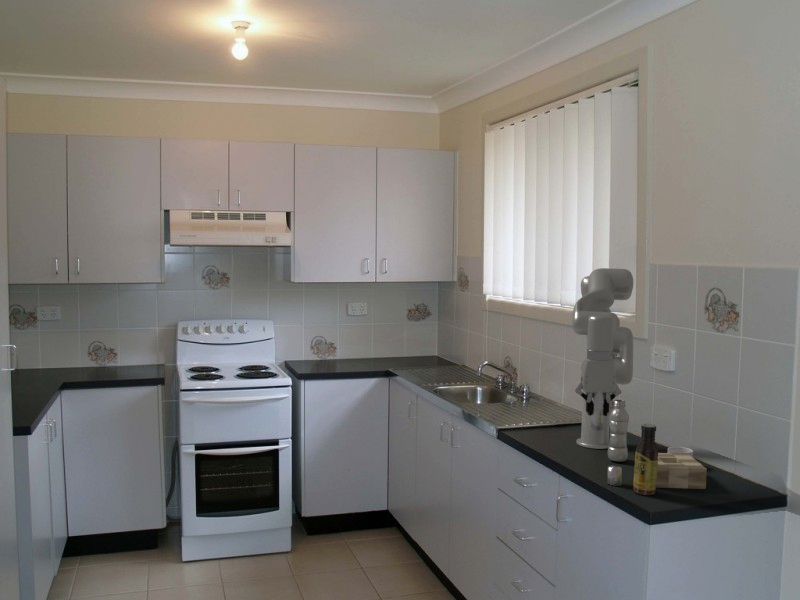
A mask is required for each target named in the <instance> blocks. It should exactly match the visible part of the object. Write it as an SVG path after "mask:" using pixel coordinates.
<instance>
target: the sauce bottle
mask: <svg viewBox="0 0 800 600" xmlns="http://www.w3.org/2000/svg"><path fill="white" fill-rule="evenodd" d="M640 428H641V436H640V440H639V442H638V445H637V447H636V450H635V454H634V469H633V482H632V483H633V484H632V485H633V491H634V493H636V494H639V495H641V496H652V495H653V496H654V495H655V493H656V489H657V488H656V481H657V467H658V453H659V447H658V446H657V444H656V431H657V425H655V424H652V423H642V424H641V426H640Z"/></svg>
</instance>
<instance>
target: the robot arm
mask: <svg viewBox="0 0 800 600" xmlns="http://www.w3.org/2000/svg"><path fill="white" fill-rule="evenodd" d="M633 290H634V277H633V274H632V272H631V271H630V270H628V269H627V268H605V267H604V268H602V267H601V268H596V269H594V270H593V271H591V272H590V274H589V275H587V276H584V277H583V278H582V279H581V281H580V293H581V294H580V295H581V297H580V298H579V299H578V300H577V301H576V302H575V305H574V306H573V310H572V319H571V320H572V321H571V324H572V330H573V332H574V333H575V334H577V335H580V336H581V335H582V336H586V357H584V358H583V360H582V361H581V366H580V367H581V368H580V370H581V373H580V382H579V384H578V385H577V386H576V388H575V389H574V392H575V393H576V394H578V395H579V396H580V397H582V403H581V404H582V407H581V428H580V429H581V433H580V437H579V438H577V439H576V444H577V445H578V446H580V447H583V448H587V449H595V450H596V449H597V450H598V449H599V450H606V449H607V450H608V447H609V441H610V421H609V415H610V413H611V402H612V401H614V400H615V398H616V397H618V396H619V395H621V394H622V390H621V389H620V387H619V385H622V386H623V385H628V384H629V385H630V383H631V382H632V380H633V374H634V335H633V332H632V330H631V329H630V328H628V327H625V326H620V325H621V323H620V317H619V316H618V314H616V313H614V312H612V310H611V309H610V308H611V307H612V306H613V304H614V302H615V301H627V300H629V299H630V298H631V296H632V293H633ZM618 356H619V357H618ZM597 392H602V393H605V404H604V429H603V430H600V431H597V430H592V429H590V416H591V415H592V403H591V398H592V393H597Z"/></svg>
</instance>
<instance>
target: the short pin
mask: <svg viewBox="0 0 800 600" xmlns="http://www.w3.org/2000/svg"><path fill="white" fill-rule="evenodd" d="M622 469H623V467H622V466H619V465H607V483H608V484H610V485H609V486H611V485H613V486H612V487H620V486H622V484H623V483H622V477H623V476H622V475H623V474H622V473H623V472H622V471H623V470H622ZM608 484H607V485H608Z"/></svg>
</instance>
